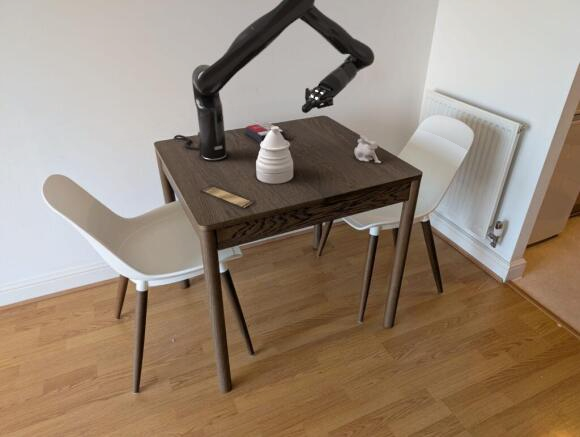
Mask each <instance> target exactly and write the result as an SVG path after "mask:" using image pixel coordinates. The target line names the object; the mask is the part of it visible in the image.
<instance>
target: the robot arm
mask: <svg viewBox="0 0 580 437" xmlns="http://www.w3.org/2000/svg"><path fill="white" fill-rule="evenodd" d="M315 3H316V0H281V1H280V2H279V3H278V5H276V6H275V7H274V8H273V9H271V10H270V11H268V12H267V13H265V14H263V15H262V16H260V17H258V18H257V19H255V20H254V21H253V22H251V23H250V24H249V25H247V27H245V28H244V29H243V30H242V31H241V32H240V33H239V34H238V35H237V36H235V38H234V40H233V41H232V43H231V44H230V45H229V47H228V48H227V50H226V52H225V53H224V54H223V55H222V56H221V57H219V59H218V60H216V61H215V62H214V63H213V64H211V65H209V64H200V65H198V66H197V67H195V68H194V70H193V72H192V74H191V83H192V91H193V99H194V105H195V108H196V115H197V124H198V131H197V138H198V144H197V147H195V146H191V145H189V144H190V143H191V139H190V138H189V137H188V136H185V135H182V134H176V135H175V136H174V137H173V139H174V140H175V139H177V138H182V139H184V140H186V142H185V143H184V147H185V148H187V149H189V150H195V151H199V154H200V157H201V158H202V159H203V160H205V161H211V162H215V161H221V160H224V159H225V158H227V157H228V153H227V144H226V132H225V119H224V108H223V103H222V100H221V96H220V91H221V90H223V88H224V87H226V85H227V84H228V83H229V82H230V81H231V79H232V78H233V77H234V76H235V75H236V74H237V73H238V72H240V71H241V70H242V69H243V68H245V67H246V66H247V65H248V64H249V63H250V62H252V61H253V60H254V59H256V57H258V56H259V55H261V53H262V52H264V51H265V50H266V49H267V48H268V47H269V46H271V44H273V42H274V41H275V40H277V39H278V37H280V35H281V34H282V33H283V32H285V30H286V29H287V28H288V27H290V26H291V25H292V24H293V23H295V22H296V21H297V20H301V21H302V22H304V23H305V24H306V25H308V26H309V27H310V28H312V29H313V30H314V31H315V32H316V33H317V34H319V35H320V36H321V37H322V38H323V39H324V40H325V41H326V42H327V43H328V44H329V45H330V46H332V47H333V48H334V49H335V51H337V52H338V54H340V55H343V56H345V55H347V57H346V58H344V60H343V62H342V63H341V64H339V66H337V67H336V68H335V69H333V70H332V71H331V72H329V73H328V74H327V75H326V76H325V77H324V78H322V80H320V81H319V82H318V85H317V86H314V87H313V89H312V88H311V89H310V88H309V87H306V88H305V89H304V90H305V91H304V101H305V102H304V104H302V106H301V112H302V113H304V114H307V113H309V112H311V111H312V110H313V109H315V108H316V109H317V110H319V109H324V108H328V107H332V106H334V98H336V97H337V96H338V95H339V94H340V93H341V92H342V91H343V90H344V89H345V88H346V87H347V86H348V85H349V83H351V82H352V81H353V80H354V79H355V78H356V76H357V74H358V72H360V71H361V70H364V69H365V68H368V67H370V66H371V65H373V64H374V61H375V53H374V51H373V50H372V48H371V47H370V46H369V45H367V44H366V43H364V42H362V41H361V40H358V39H357V38H354V37H353V36H352V35H351V34H350V33H349V32H348V31H347V30H346V29H345V28H344V27H342V25H340V24H339V23H338V22H336V21H335V20H333V19H332V18H330V17H329V16H327V15H326V14H324V12H322V11H321V10H319V9H318V8H317V6H316V5H315Z"/></svg>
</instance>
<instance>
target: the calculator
mask: <svg viewBox="0 0 580 437" xmlns="http://www.w3.org/2000/svg"><path fill="white" fill-rule="evenodd" d="M273 126H275V125H274V124H272V123H270V122H268V121H267V122H261V123H258V124H256V123H255V124H250V125H247V126H245V134H246V135H247V136H249V137H251V138H252V139H254V140H256V142H257V143H258V144H260V143H261V142H262V141H264V139H265V137H266V135H267V134H268V132H269V131H270V130H271V127H273ZM278 131H279V132H280V133H281V135H282V136H283V138H284V140H286V136H285V135H286V134H285V131H284V130H283V129H281V128H279V130H278Z"/></svg>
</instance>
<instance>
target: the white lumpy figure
mask: <svg viewBox="0 0 580 437" xmlns="http://www.w3.org/2000/svg"><path fill="white" fill-rule="evenodd" d="M357 143H358V144H357V145H356V146H357V147H355V148H354V157H355V158H356V159H357V160H359V161H362V162H363V161H364V162H370V161H373V160H374V163H378V164H380V163H382V161H381V160H379V159H378V155H376V152H375V150H376V149H378V146H379V145H378V143H377V142H376V141H375V140H369V139H368V138H367V137H366V136H365V135H364V134H360V135H359V138H358V139H357Z"/></svg>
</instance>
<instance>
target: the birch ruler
mask: <svg viewBox="0 0 580 437" xmlns="http://www.w3.org/2000/svg"><path fill="white" fill-rule="evenodd" d="M203 192H204V193H207V194H209V195H211V196H214V197H216V198H219V199H221V200H224V201H226V202H228V203H231V204H233V205H235V206H238V207H240V208H242V209H245V208H247V207H249V206H250V205H252V204H253V203H254V202H253V201H251V200H249V199H247V198H243V197H241V196H238V195H236V194H233V193H230V192H228V191H225V190H224V189H220V188H218V187H216V186H213V185H212V186H210V187H208V188H206V189H204V190H203Z"/></svg>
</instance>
